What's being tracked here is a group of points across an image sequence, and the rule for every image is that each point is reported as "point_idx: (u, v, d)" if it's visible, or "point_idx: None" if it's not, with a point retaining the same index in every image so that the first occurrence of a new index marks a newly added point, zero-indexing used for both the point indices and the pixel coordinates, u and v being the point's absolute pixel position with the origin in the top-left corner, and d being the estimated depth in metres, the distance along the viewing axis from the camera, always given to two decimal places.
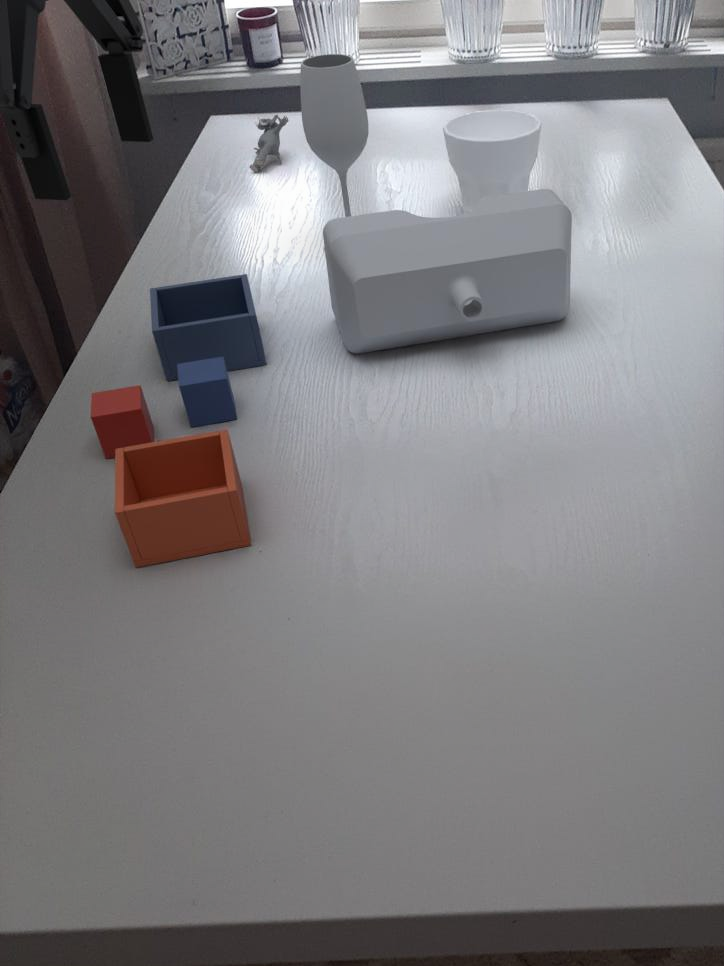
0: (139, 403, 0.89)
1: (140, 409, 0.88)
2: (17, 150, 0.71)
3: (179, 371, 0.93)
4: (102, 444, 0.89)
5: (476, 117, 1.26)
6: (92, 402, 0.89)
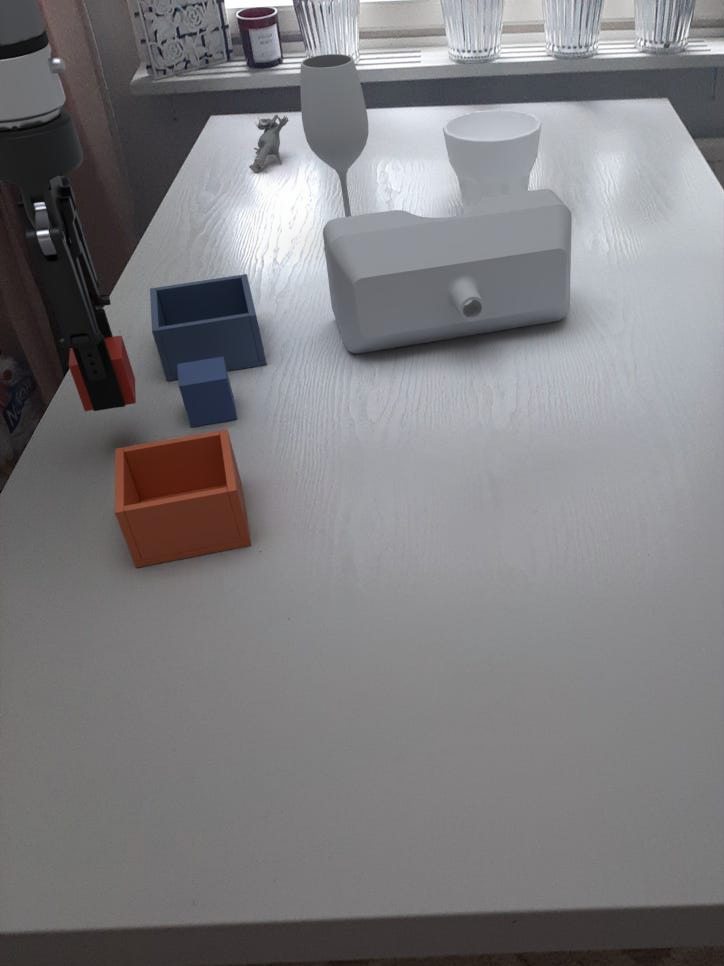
0: (120, 353, 0.85)
1: (121, 359, 0.85)
2: (89, 376, 0.83)
3: (179, 371, 0.93)
4: (81, 395, 0.86)
5: (476, 117, 1.26)
6: (71, 351, 0.86)
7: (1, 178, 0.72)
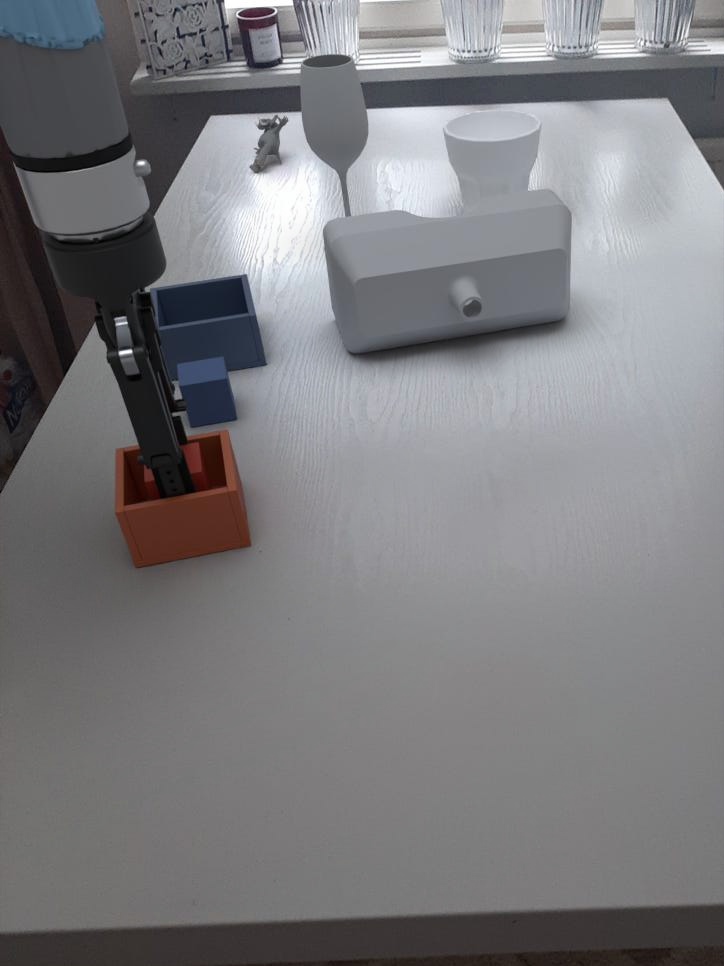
0: (199, 464, 0.78)
1: (201, 472, 0.77)
2: (168, 494, 0.76)
3: (179, 371, 0.93)
4: None
5: (476, 117, 1.26)
6: None
7: (79, 293, 0.65)
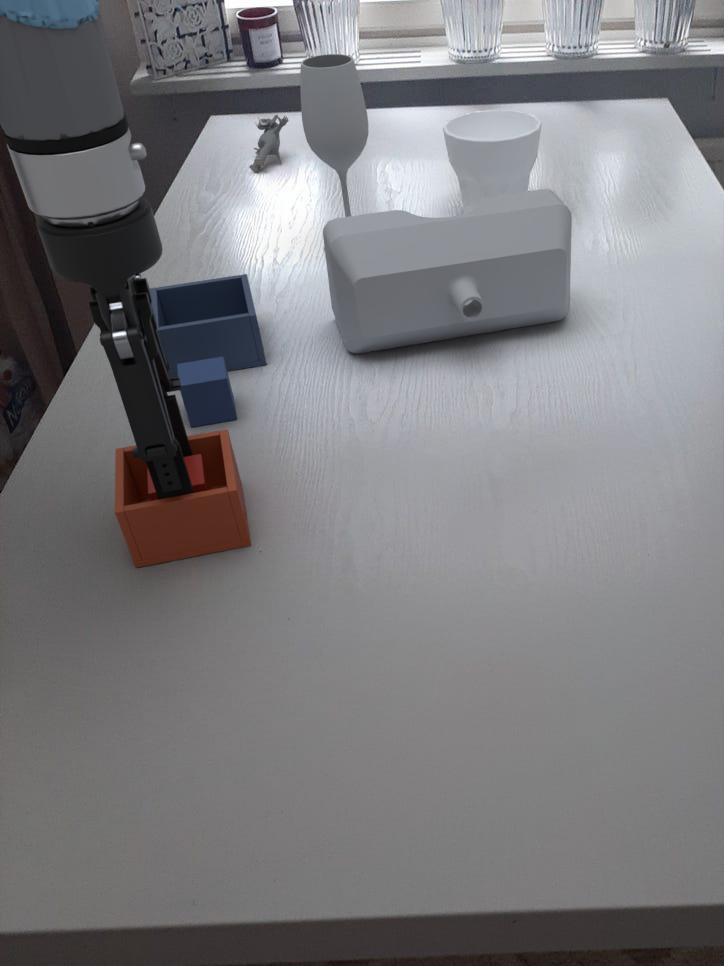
0: (202, 476, 0.79)
1: (203, 484, 0.78)
2: (163, 487, 0.74)
3: (179, 371, 0.93)
4: None
5: (476, 117, 1.26)
6: (149, 474, 0.79)
7: (74, 278, 0.64)
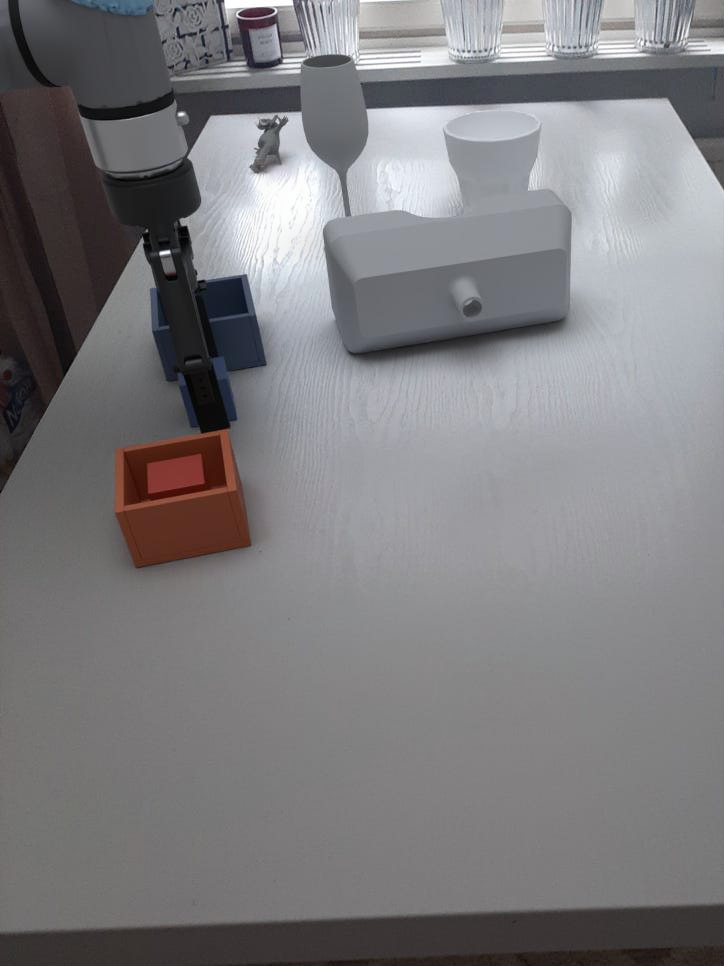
0: (202, 476, 0.79)
1: (203, 484, 0.78)
2: (199, 400, 0.85)
3: None
4: None
5: (476, 117, 1.26)
6: (149, 474, 0.79)
7: (131, 222, 0.79)
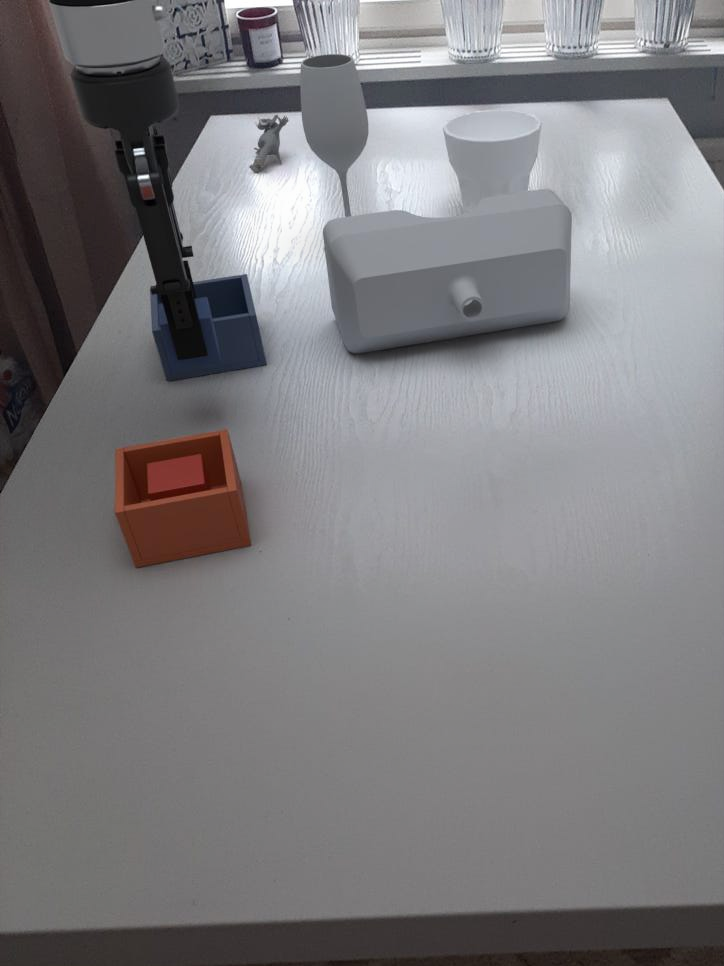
0: (202, 476, 0.79)
1: (203, 484, 0.78)
2: (177, 324, 0.85)
3: (160, 310, 0.88)
4: None
5: (476, 117, 1.26)
6: (149, 474, 0.79)
7: (103, 123, 0.74)
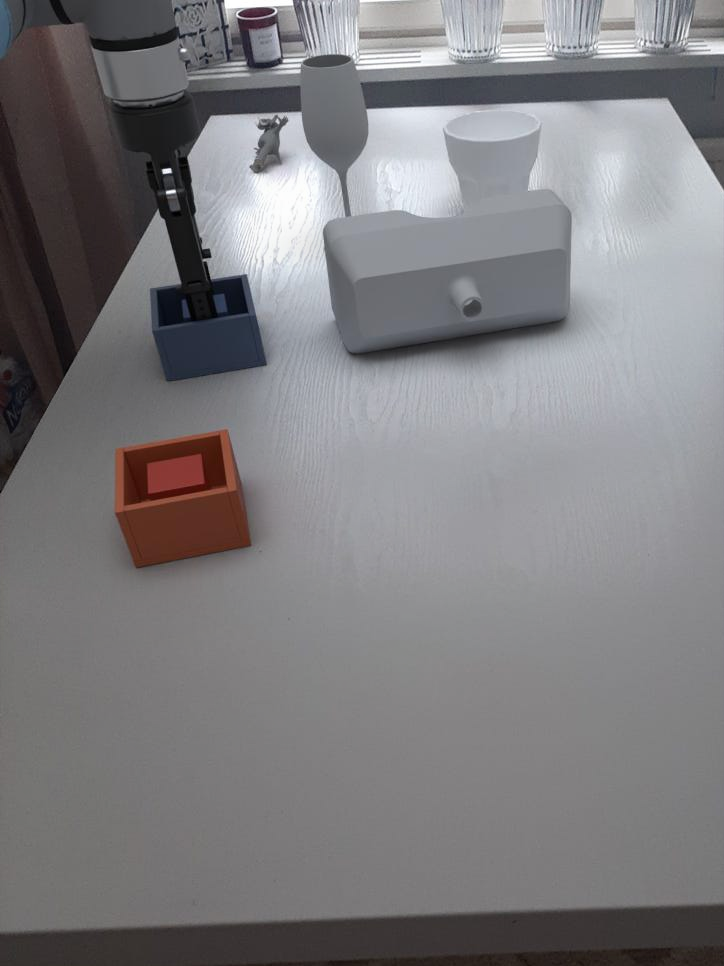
0: (202, 476, 0.79)
1: (203, 484, 0.78)
2: (198, 319, 0.98)
3: (183, 306, 1.01)
4: None
5: (476, 117, 1.26)
6: (149, 474, 0.79)
7: (136, 148, 0.87)
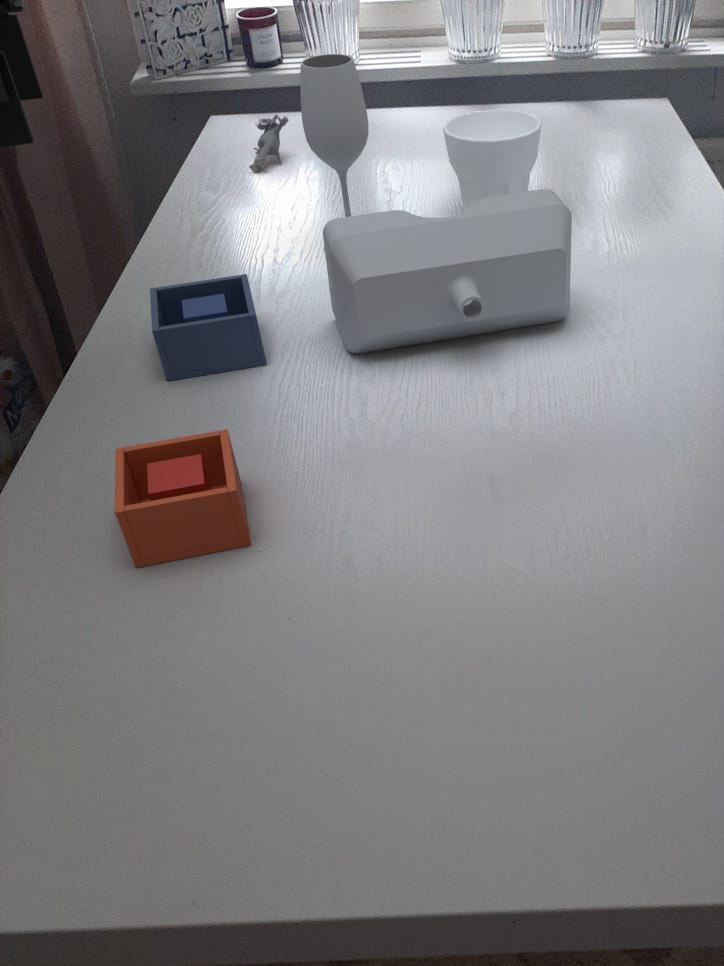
0: (202, 476, 0.79)
1: (203, 484, 0.78)
2: None
3: (183, 306, 1.01)
4: None
5: (476, 117, 1.26)
6: (149, 474, 0.79)
7: None
